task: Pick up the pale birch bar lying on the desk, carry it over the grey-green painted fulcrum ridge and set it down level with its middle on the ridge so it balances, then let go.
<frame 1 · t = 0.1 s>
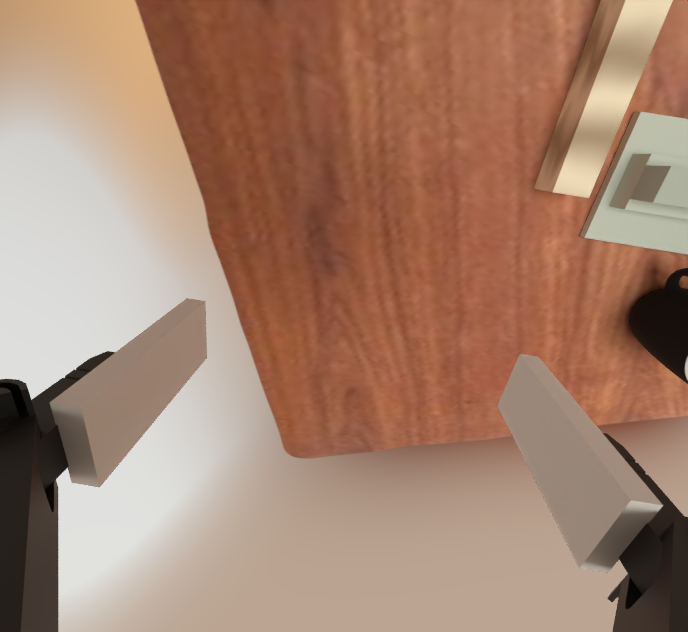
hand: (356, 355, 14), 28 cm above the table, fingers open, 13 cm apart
birch bar: (594, 68, 32), on the table
mug: (655, 301, 41), on the table
fulcrum ridge: (671, 189, 36), on the table
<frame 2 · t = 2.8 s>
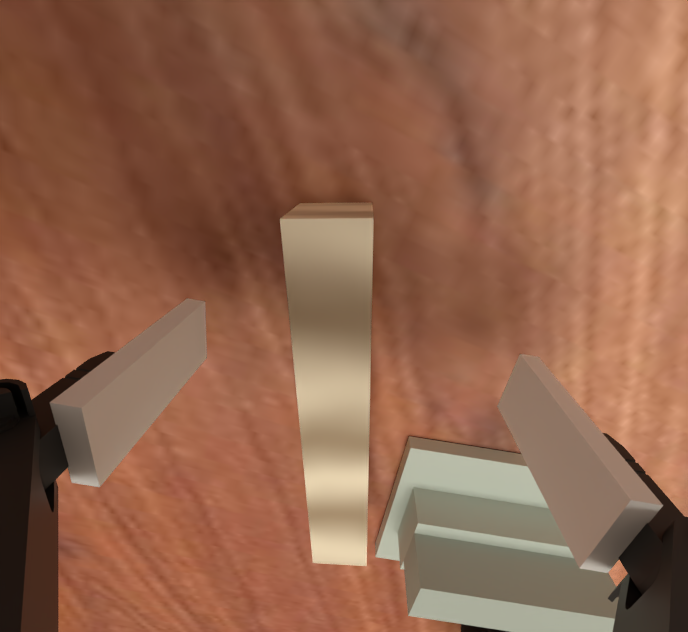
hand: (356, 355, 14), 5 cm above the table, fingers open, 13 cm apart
birch bar: (340, 384, 22), on the table
mug: (494, 601, 31), on the table
fulcrum ridge: (483, 510, 25), on the table
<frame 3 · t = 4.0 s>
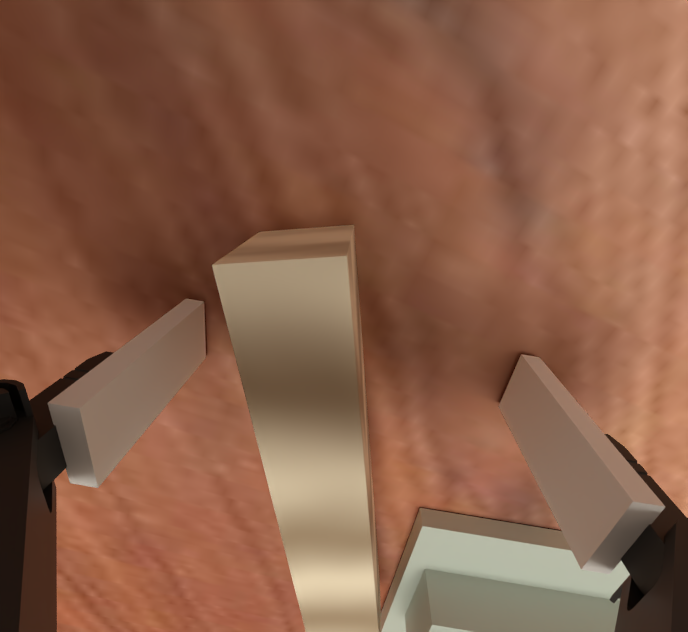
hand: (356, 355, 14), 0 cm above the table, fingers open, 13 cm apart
birch bar: (335, 446, 17), on the table
fulcrum ridge: (509, 590, 21), on the table
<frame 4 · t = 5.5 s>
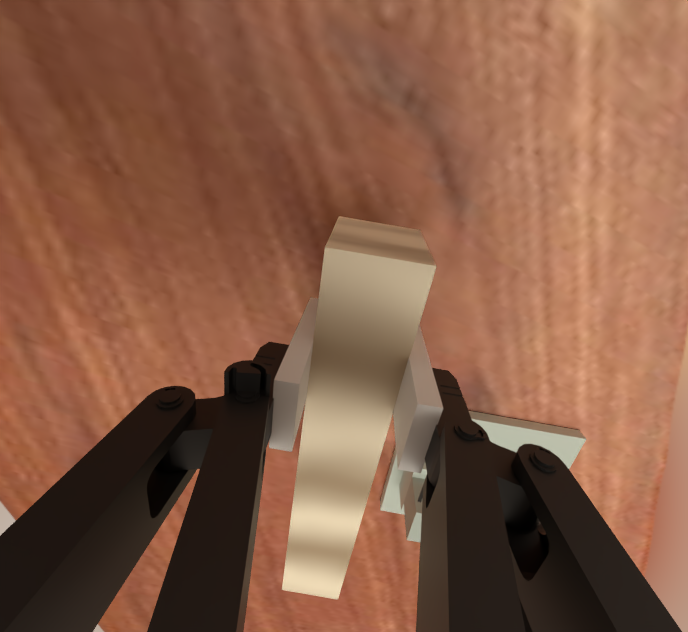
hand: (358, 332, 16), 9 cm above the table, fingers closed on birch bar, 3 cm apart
birch bar: (342, 412, 20), point 7 cm above the table, touching gripper
fulcrum ridge: (471, 468, 30), on the table
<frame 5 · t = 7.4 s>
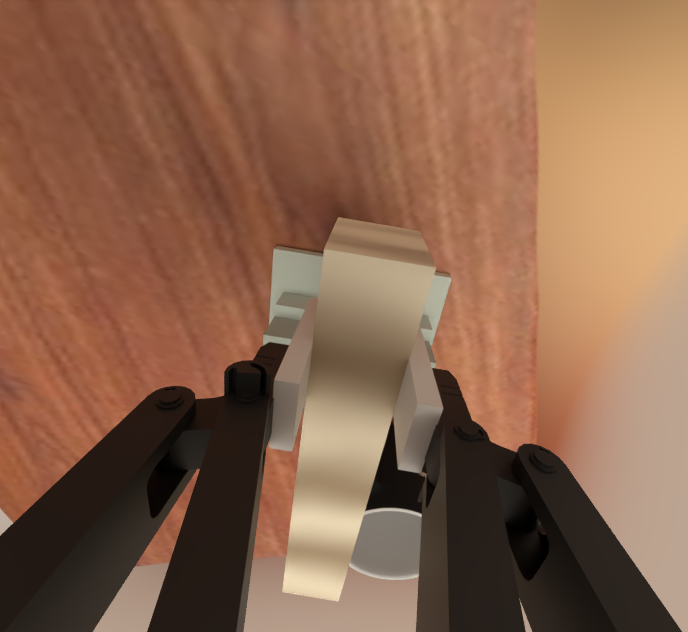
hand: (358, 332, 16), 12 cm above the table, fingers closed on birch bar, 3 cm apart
birch bar: (342, 413, 20), point 11 cm above the table, touching gripper
mug: (381, 434, 35), on the table
fulcrum ridge: (351, 325, 30), on the table
when the fingers open (5 cm above the table, at t = 9.5 s): birch bar stays where it is, resting on fulcrum ridge, mug.
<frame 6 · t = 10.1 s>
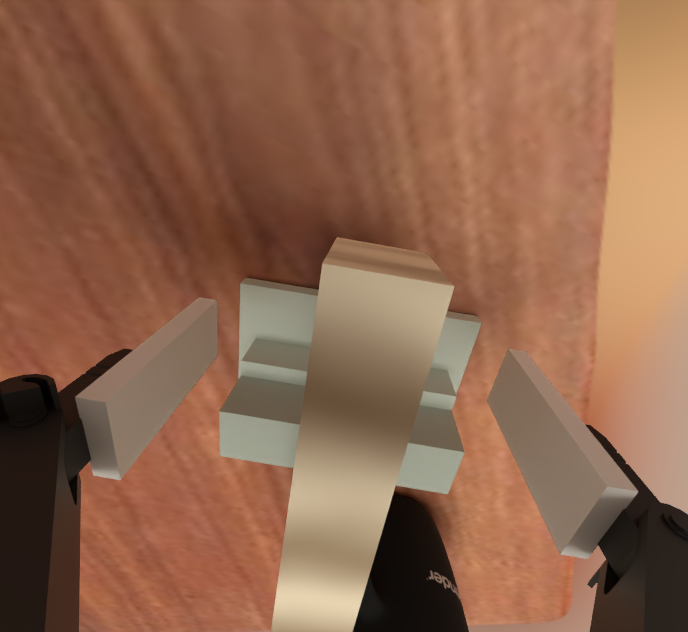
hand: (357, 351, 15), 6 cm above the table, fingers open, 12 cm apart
birch bar: (338, 461, 17), point 7 cm above the table, touching fulcrum ridge, mug
mug: (384, 505, 28), on the table, touching birch bar
fulcrum ridge: (346, 378, 23), on the table
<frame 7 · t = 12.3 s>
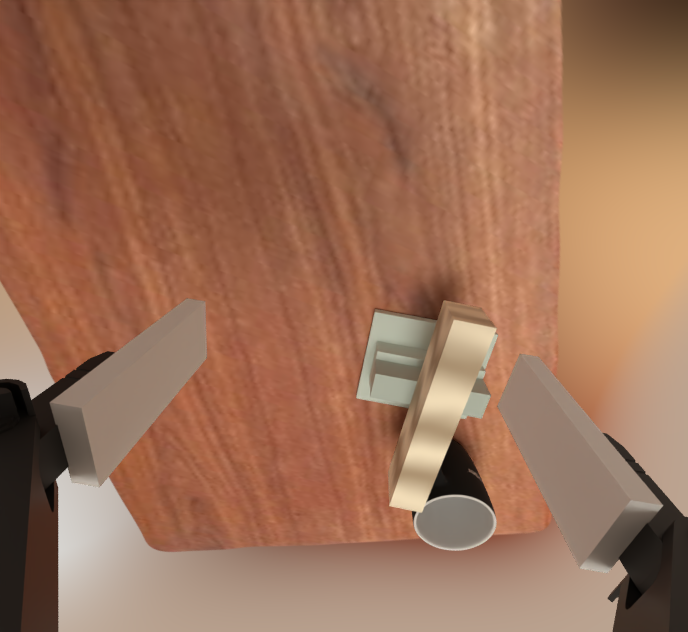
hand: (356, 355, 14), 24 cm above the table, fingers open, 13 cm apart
birch bar: (428, 399, 36), point 6 cm above the table, touching fulcrum ridge
mug: (435, 445, 47), on the table
fulcrum ridge: (421, 364, 42), on the table
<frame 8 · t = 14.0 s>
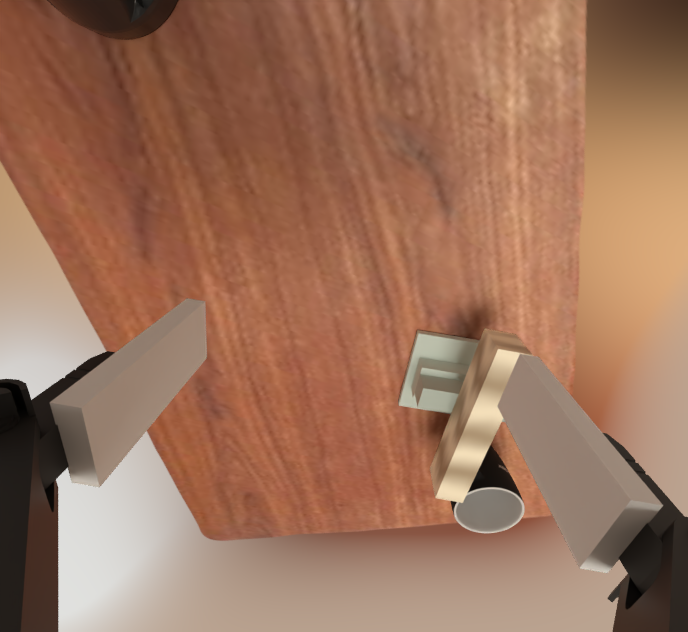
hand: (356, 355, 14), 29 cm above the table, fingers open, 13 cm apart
birch bar: (467, 408, 42), point 6 cm above the table, touching fulcrum ridge
mug: (465, 443, 53), on the table
fulcrum ridge: (456, 375, 48), on the table
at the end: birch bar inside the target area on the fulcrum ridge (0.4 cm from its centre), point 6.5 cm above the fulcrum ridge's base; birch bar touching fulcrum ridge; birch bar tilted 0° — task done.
